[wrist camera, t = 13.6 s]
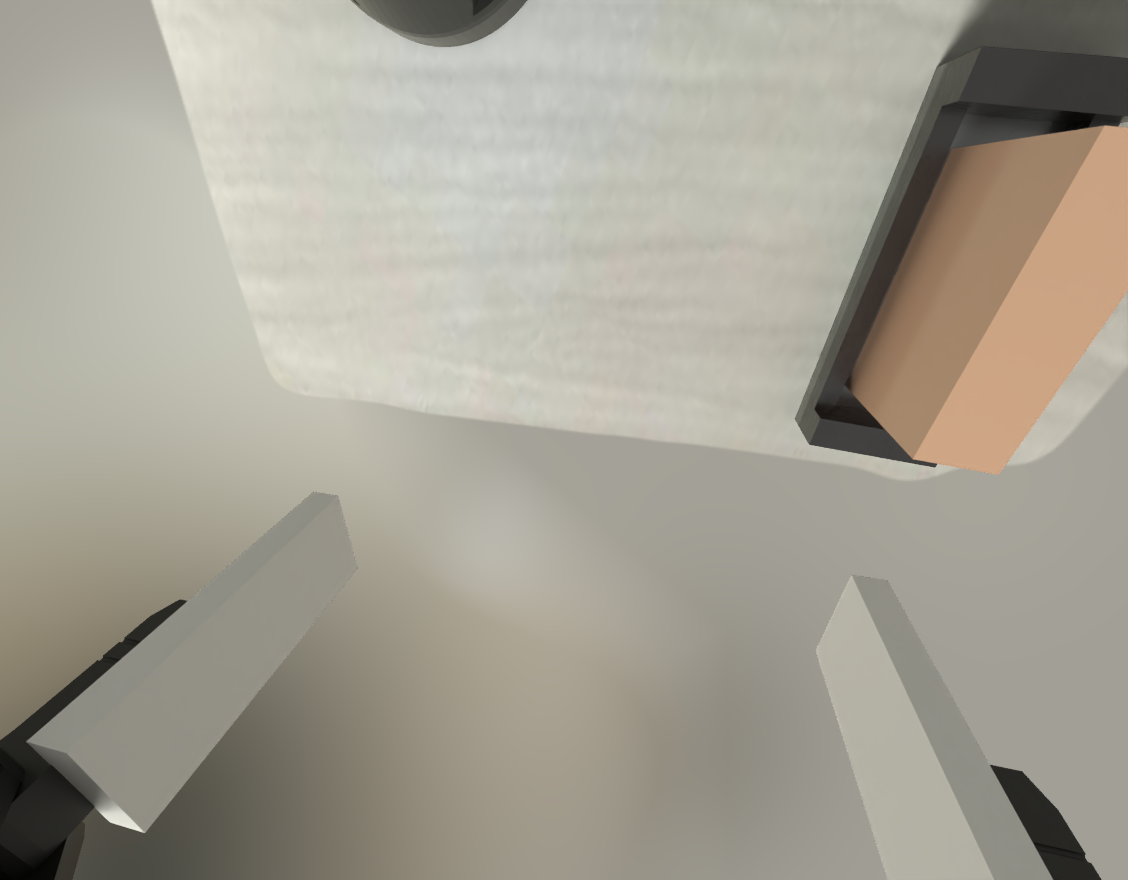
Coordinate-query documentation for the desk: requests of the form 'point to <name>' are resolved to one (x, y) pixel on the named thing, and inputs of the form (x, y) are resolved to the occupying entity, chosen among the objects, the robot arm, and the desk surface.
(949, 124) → the dark grey tray
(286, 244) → the desk surface
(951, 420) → the orange rectangular block
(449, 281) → the desk surface
